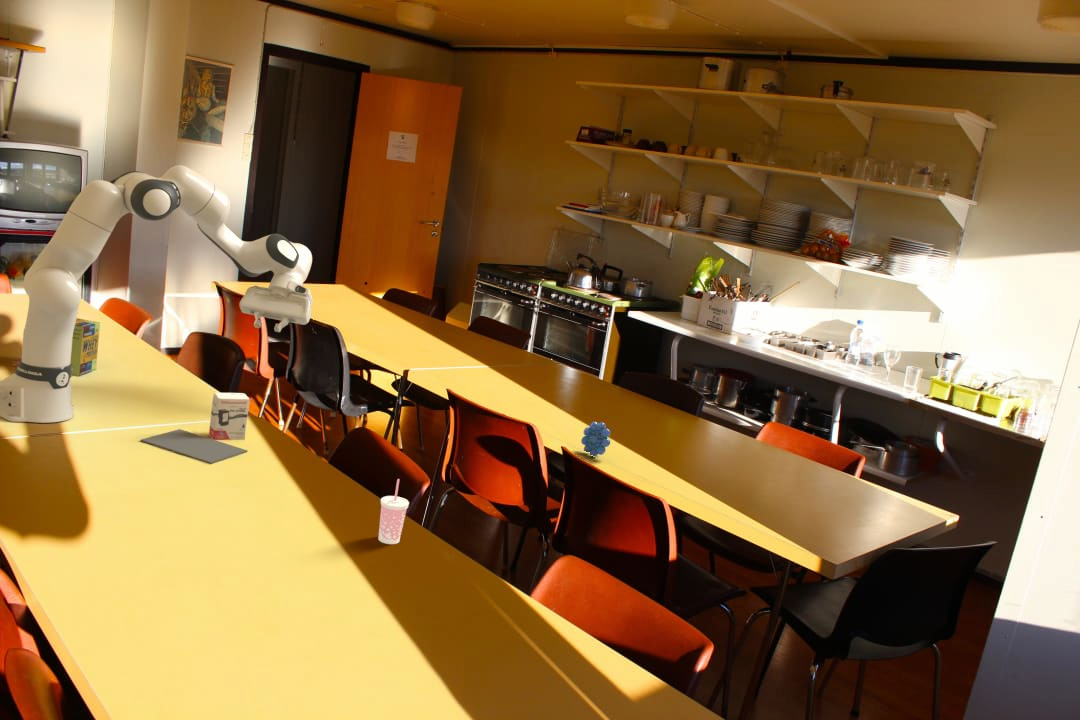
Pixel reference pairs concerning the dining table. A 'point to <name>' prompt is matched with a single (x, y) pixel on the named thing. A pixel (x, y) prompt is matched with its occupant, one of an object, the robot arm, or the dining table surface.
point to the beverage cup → (392, 517)
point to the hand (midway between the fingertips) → (266, 328)
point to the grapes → (596, 438)
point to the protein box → (84, 346)
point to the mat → (194, 446)
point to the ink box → (229, 416)
